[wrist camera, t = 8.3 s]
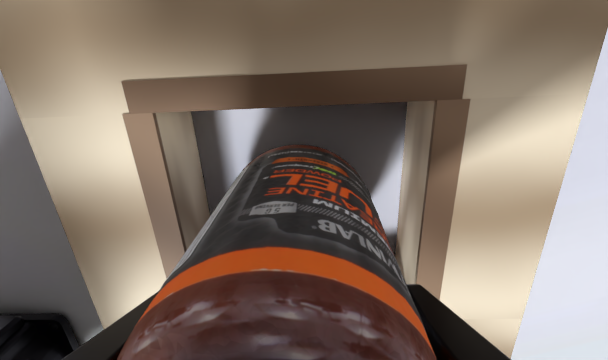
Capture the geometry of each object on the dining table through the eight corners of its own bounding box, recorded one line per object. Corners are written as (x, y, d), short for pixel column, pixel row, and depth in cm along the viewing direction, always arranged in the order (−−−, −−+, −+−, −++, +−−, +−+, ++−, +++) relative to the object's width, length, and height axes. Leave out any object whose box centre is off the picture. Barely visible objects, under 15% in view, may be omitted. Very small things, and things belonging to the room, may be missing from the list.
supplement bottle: (390, 164, 12) (863, 783, 2) (340, 275, 14) (417, 856, 4) (249, 119, 12) (-296, 625, 1) (219, 242, 14) (-71, 809, 3)
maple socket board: (469, 336, 17) (501, 392, 14) (157, 339, 18) (127, 392, 15) (553, -53, 10) (646, -97, 7) (45, -20, 11) (-48, -48, 8)
